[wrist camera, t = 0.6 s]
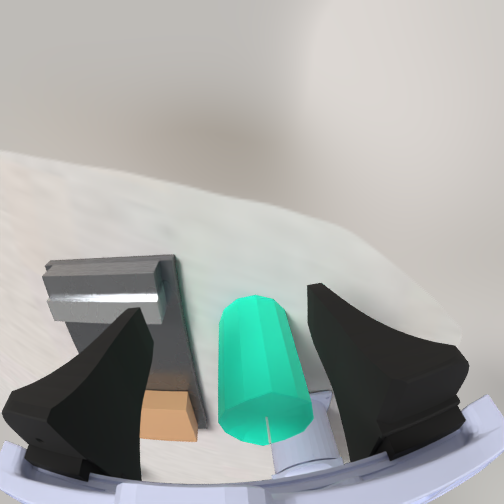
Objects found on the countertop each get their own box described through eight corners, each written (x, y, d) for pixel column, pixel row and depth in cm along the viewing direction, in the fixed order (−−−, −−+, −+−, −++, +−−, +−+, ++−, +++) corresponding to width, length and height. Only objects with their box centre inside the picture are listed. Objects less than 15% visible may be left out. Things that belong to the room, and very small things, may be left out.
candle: (282, 347, 26) (309, 457, 16) (219, 348, 26) (219, 462, 15) (291, 294, 24) (331, 411, 13) (219, 294, 23) (217, 418, 13)
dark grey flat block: (207, 422, 31) (206, 444, 28) (119, 416, 30) (114, 437, 27) (174, 254, 22) (165, 276, 19) (50, 260, 21) (30, 279, 18)
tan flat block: (197, 425, 30) (197, 441, 27) (121, 420, 29) (118, 435, 27) (187, 391, 27) (186, 410, 24) (102, 386, 26) (96, 402, 24)
